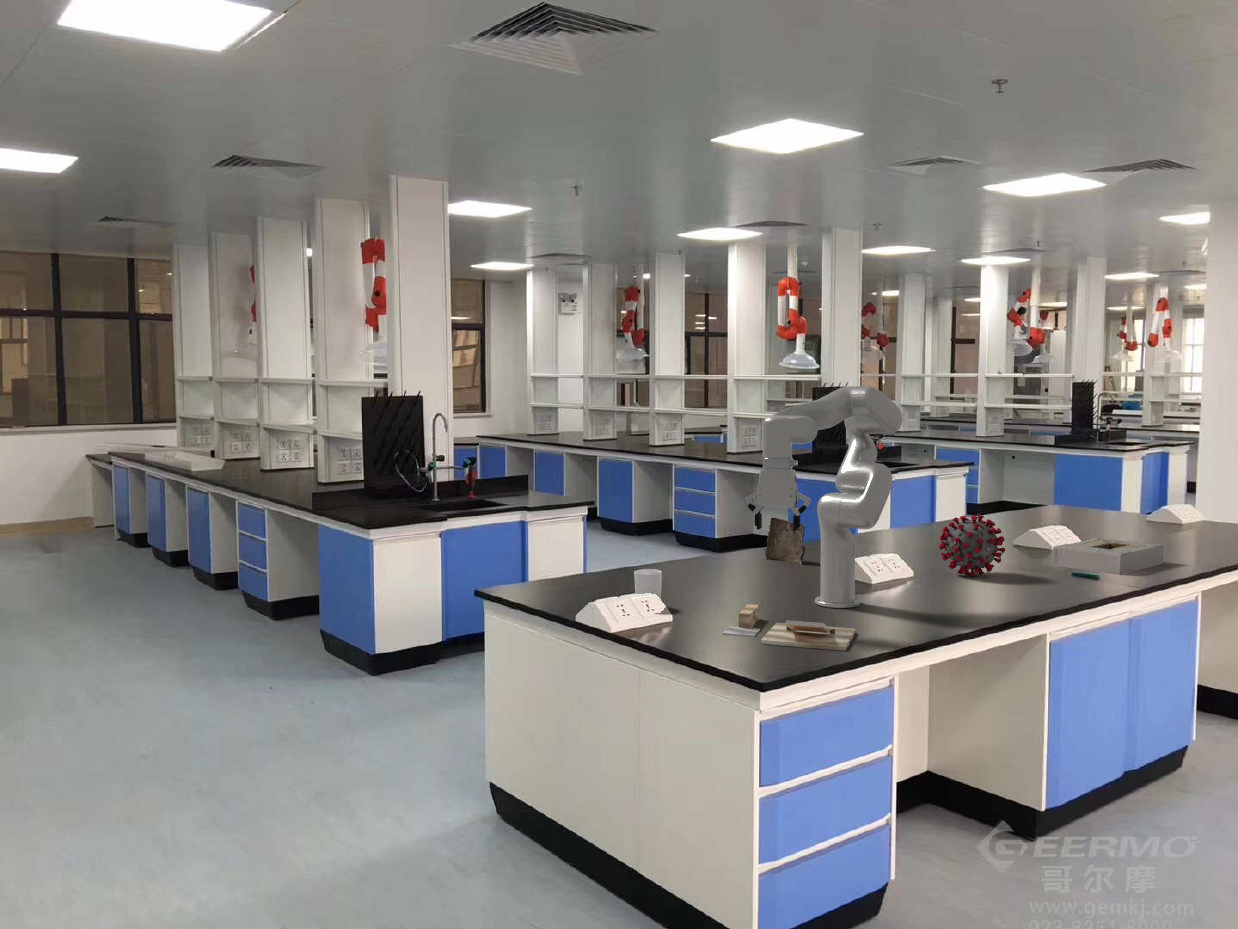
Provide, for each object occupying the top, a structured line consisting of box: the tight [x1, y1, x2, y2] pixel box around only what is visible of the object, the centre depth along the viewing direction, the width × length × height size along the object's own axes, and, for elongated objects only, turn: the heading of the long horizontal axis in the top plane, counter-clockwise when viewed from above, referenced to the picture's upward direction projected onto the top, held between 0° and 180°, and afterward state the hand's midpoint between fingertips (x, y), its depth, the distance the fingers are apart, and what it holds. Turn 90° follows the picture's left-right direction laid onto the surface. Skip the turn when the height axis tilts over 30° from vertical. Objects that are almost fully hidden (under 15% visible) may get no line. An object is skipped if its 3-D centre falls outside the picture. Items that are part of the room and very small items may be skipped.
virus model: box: [938, 514, 1006, 577], centre depth 313 cm, size 20×20×20 cm
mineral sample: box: [765, 517, 806, 565], centre depth 342 cm, size 17×4×15 cm, turn 41°
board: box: [760, 622, 857, 652], centre depth 236 cm, size 18×20×2 cm
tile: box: [785, 619, 829, 633], centre depth 233 cm, size 9×9×1 cm
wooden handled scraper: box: [722, 603, 761, 638], centre depth 248 cm, size 19×8×4 cm, turn 161°
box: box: [1051, 537, 1164, 576], centre depth 330 cm, size 23×8×32 cm
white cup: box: [633, 568, 663, 600], centre depth 272 cm, size 8×8×10 cm
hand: (777, 529), depth 252 cm, fingers open, 9 cm apart
